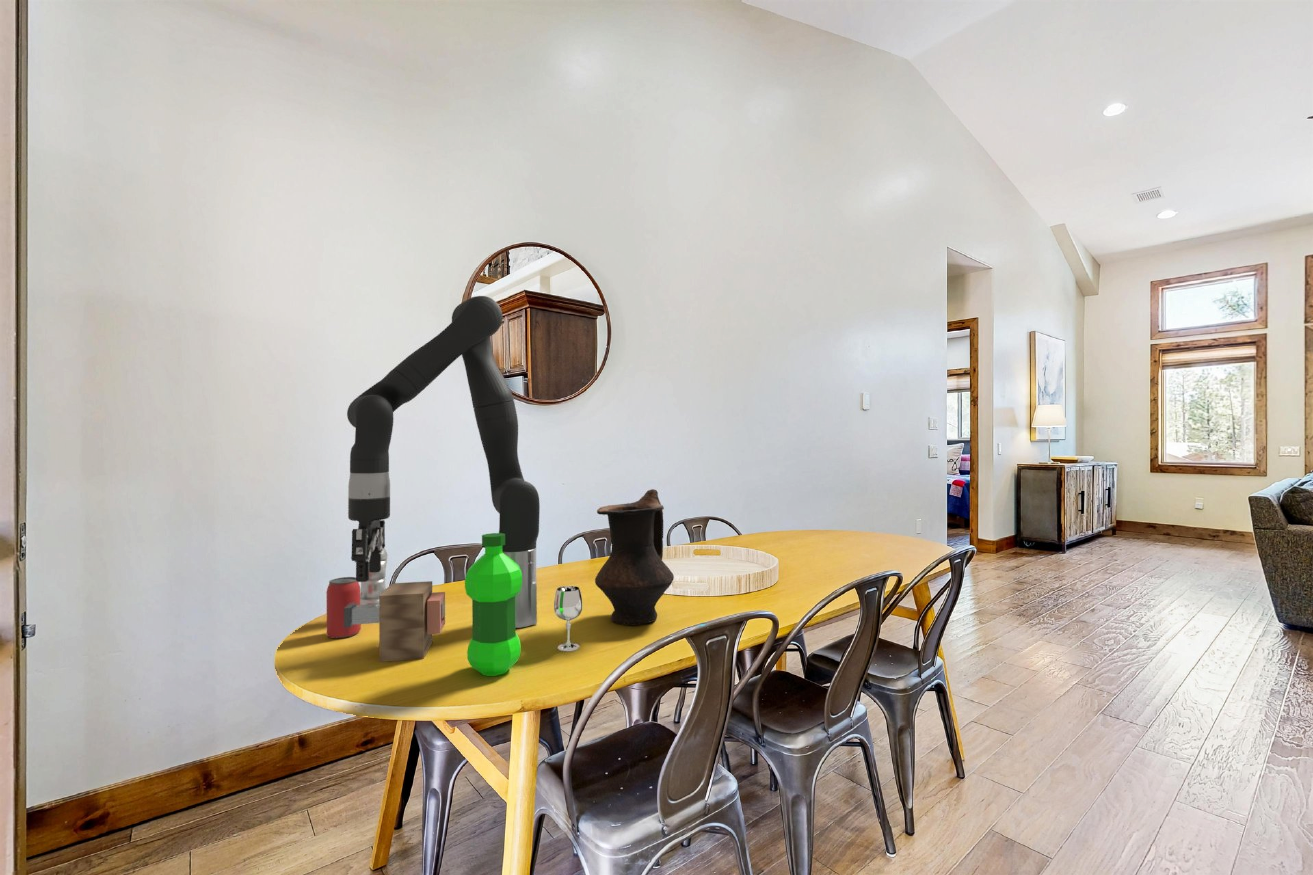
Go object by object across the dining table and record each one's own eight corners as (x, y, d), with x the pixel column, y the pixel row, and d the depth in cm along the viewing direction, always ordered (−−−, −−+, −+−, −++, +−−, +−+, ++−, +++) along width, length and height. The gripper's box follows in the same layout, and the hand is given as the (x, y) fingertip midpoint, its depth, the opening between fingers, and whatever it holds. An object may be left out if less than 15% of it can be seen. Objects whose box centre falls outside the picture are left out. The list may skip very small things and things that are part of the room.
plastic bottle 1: (369, 622, 137) (368, 537, 137) (352, 618, 140) (352, 534, 140) (394, 615, 142) (393, 533, 142) (377, 611, 146) (377, 531, 146)
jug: (648, 638, 125) (647, 497, 125) (578, 624, 134) (578, 494, 134) (692, 612, 143) (691, 489, 143) (628, 602, 153) (627, 487, 153)
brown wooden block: (432, 641, 124) (432, 581, 124) (423, 658, 114) (423, 593, 114) (392, 643, 122) (391, 583, 122) (379, 661, 113) (379, 595, 113)
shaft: (445, 615, 122) (444, 597, 122) (442, 621, 118) (442, 602, 118) (350, 621, 118) (349, 602, 118) (343, 627, 114) (343, 608, 114)
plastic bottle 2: (500, 655, 115) (499, 528, 115) (534, 668, 109) (533, 534, 109) (454, 671, 108) (453, 535, 108) (487, 686, 101) (486, 541, 101)
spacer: (445, 623, 123) (444, 591, 123) (440, 633, 116) (439, 600, 116) (433, 624, 122) (432, 592, 122) (427, 634, 116) (427, 601, 116)
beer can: (346, 640, 125) (345, 584, 125) (319, 638, 126) (319, 582, 126) (367, 630, 131) (366, 576, 131) (341, 628, 133) (341, 575, 133)
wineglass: (559, 654, 116) (558, 593, 116) (550, 645, 121) (550, 587, 121) (586, 649, 119) (586, 590, 119) (577, 640, 124) (576, 583, 124)
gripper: (380, 498, 111) (379, 584, 111) (398, 492, 125) (397, 568, 125) (337, 499, 109) (336, 586, 109) (359, 492, 123) (359, 569, 123)
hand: (369, 576), depth 117 cm, fingers open, 8 cm apart
